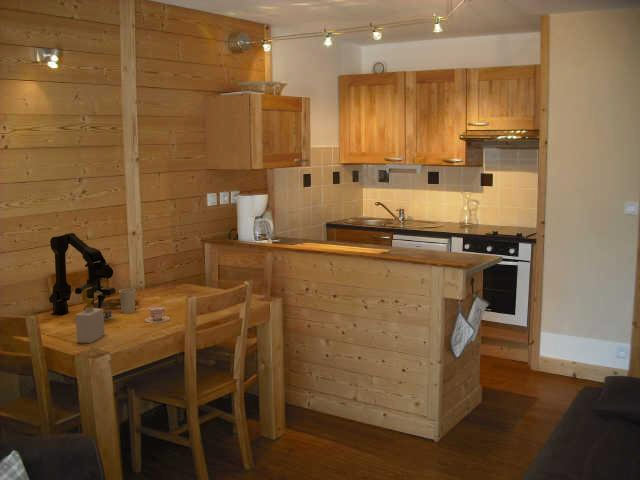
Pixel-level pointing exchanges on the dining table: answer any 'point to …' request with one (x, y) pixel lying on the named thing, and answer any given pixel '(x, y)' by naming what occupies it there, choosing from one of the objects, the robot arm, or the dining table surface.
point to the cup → (127, 300)
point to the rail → (104, 306)
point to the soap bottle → (89, 322)
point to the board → (109, 317)
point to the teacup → (157, 315)
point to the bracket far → (107, 314)
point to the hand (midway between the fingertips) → (96, 308)
